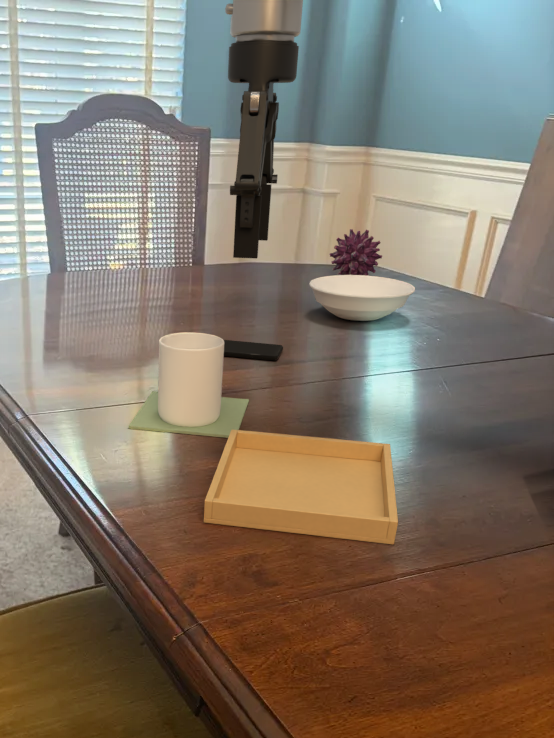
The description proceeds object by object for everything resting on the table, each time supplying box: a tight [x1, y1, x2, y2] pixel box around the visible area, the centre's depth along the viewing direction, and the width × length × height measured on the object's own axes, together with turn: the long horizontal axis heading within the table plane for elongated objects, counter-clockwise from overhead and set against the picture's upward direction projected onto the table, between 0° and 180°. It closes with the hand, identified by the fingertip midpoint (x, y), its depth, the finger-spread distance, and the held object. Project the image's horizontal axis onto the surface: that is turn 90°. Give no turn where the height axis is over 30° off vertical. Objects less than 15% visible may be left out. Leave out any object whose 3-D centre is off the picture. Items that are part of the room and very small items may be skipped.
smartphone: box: [223, 339, 284, 361], centre depth 130 cm, size 7×1×15 cm
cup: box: [157, 331, 225, 427], centre depth 101 cm, size 8×12×10 cm
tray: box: [203, 429, 399, 545], centre depth 84 cm, size 19×20×2 cm
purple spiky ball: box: [329, 228, 383, 276], centre depth 179 cm, size 12×12×12 cm
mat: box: [128, 390, 250, 439], centre depth 104 cm, size 14×14×1 cm
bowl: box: [308, 274, 416, 322], centre depth 149 cm, size 20×20×6 cm
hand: (251, 248), depth 94 cm, fingers open, 13 cm apart
